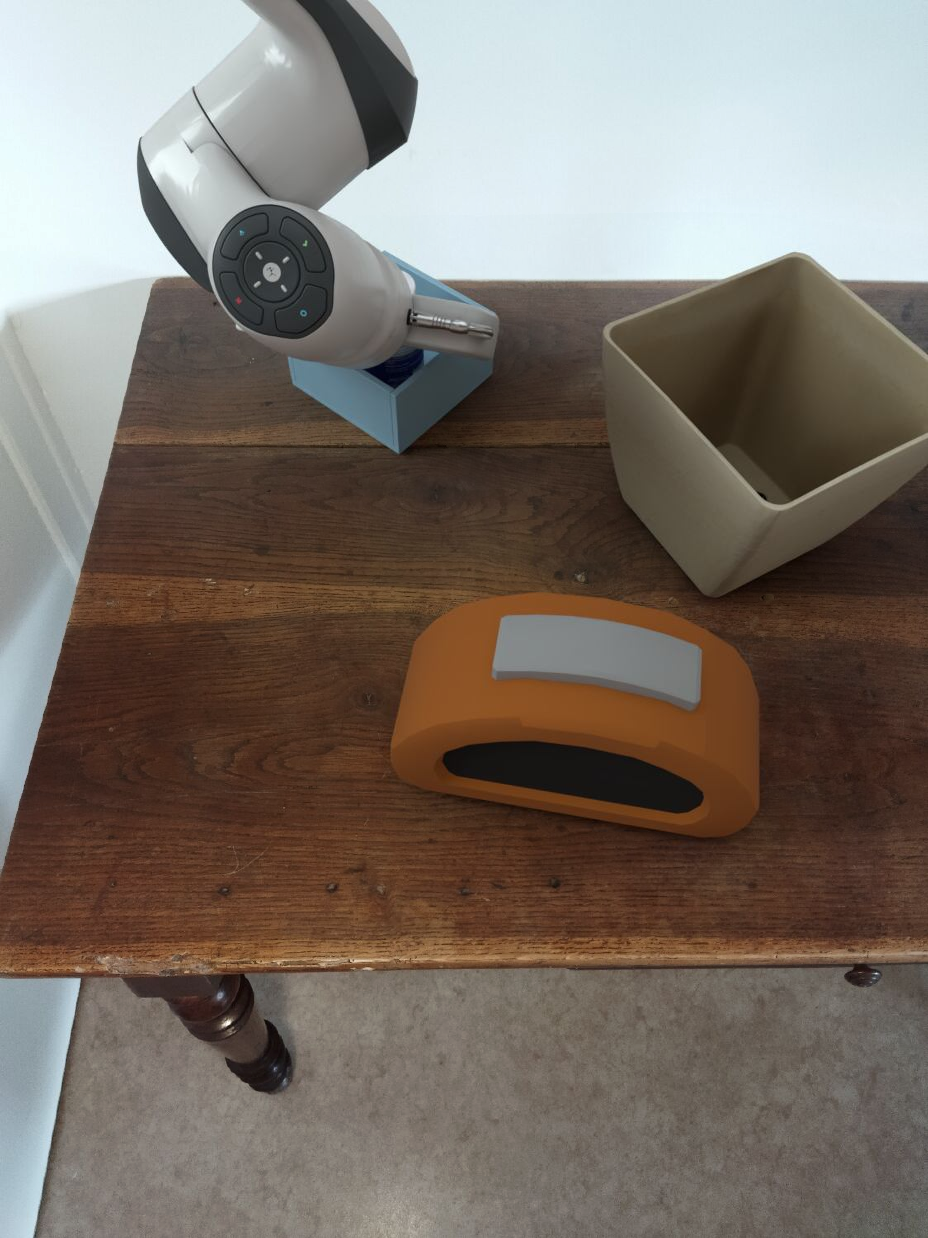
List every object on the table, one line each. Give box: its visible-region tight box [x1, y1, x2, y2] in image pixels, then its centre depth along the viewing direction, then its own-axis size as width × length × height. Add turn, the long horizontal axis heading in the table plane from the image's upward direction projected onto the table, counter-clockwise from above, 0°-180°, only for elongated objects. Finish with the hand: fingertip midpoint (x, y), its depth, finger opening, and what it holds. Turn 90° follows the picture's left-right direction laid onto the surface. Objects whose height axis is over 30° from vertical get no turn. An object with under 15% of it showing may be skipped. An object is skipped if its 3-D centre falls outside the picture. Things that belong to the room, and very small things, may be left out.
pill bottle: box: [363, 270, 424, 389], centre depth 78 cm, size 6×6×10 cm
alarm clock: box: [390, 591, 760, 838], centre depth 56 cm, size 23×9×17 cm, turn 80°
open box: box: [286, 250, 497, 455], centre depth 79 cm, size 13×13×7 cm
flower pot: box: [601, 251, 928, 599], centre depth 68 cm, size 19×19×17 cm
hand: (392, 324), depth 78 cm, fingers closed on pill bottle, 6 cm apart
